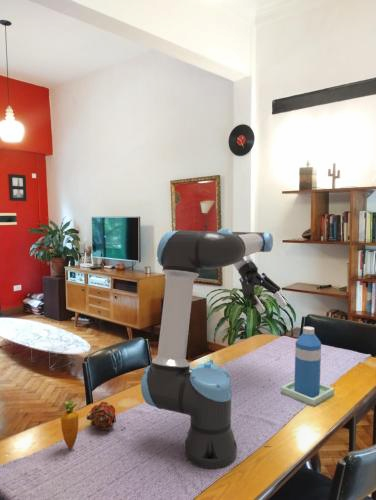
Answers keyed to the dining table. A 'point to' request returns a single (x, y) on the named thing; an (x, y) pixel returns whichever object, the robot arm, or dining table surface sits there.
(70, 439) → the carrot
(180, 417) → the dining table surface
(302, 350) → the water bottle
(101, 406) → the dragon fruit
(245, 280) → the robot arm
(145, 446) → the dining table surface
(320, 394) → the tray
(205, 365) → the teapot
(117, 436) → the dining table surface
